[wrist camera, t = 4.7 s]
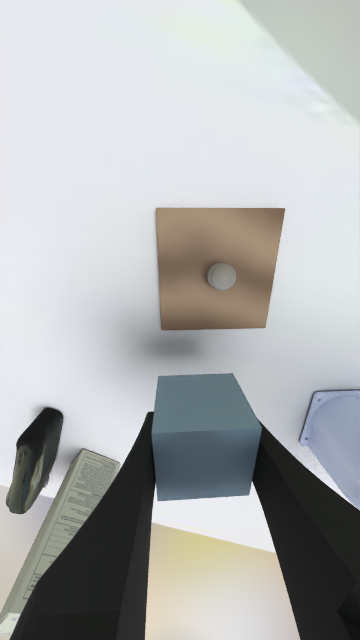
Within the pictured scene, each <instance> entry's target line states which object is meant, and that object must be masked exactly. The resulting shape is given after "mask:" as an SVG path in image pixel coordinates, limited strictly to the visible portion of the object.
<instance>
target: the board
mask: <svg viewBox="0 0 360 640" xmlns="http://www.w3.org/2000/svg"><path fill="white" fill-rule="evenodd" d="M284 212H285V208H156V219H157V241H158V263H159V285H160V307H161V329H162V330H201V329H244V328H265V327H266V321H267V315H268V309H269V303H270V297H271V291H272V285H273V279H274V273H275V267H276V261H277V254H278V248H279V242H280V236H281V230H282V224H283V218H284Z"/></svg>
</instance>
